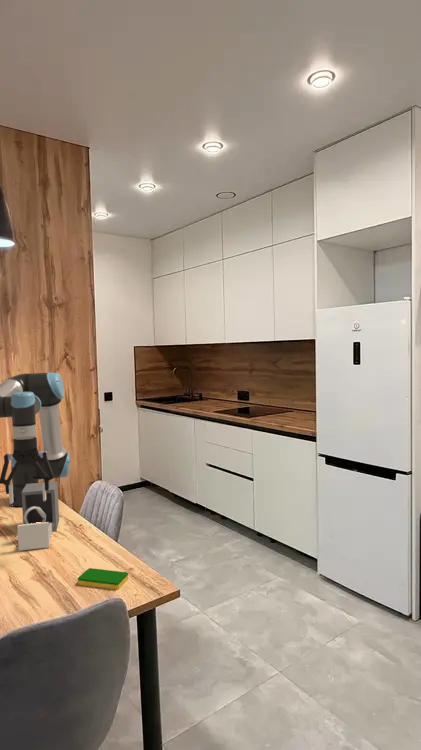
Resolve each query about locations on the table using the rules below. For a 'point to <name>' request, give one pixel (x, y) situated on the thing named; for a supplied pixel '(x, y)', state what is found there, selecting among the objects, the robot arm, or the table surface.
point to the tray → (34, 535)
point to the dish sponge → (103, 578)
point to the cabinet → (41, 503)
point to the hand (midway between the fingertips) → (28, 501)
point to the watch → (37, 511)
